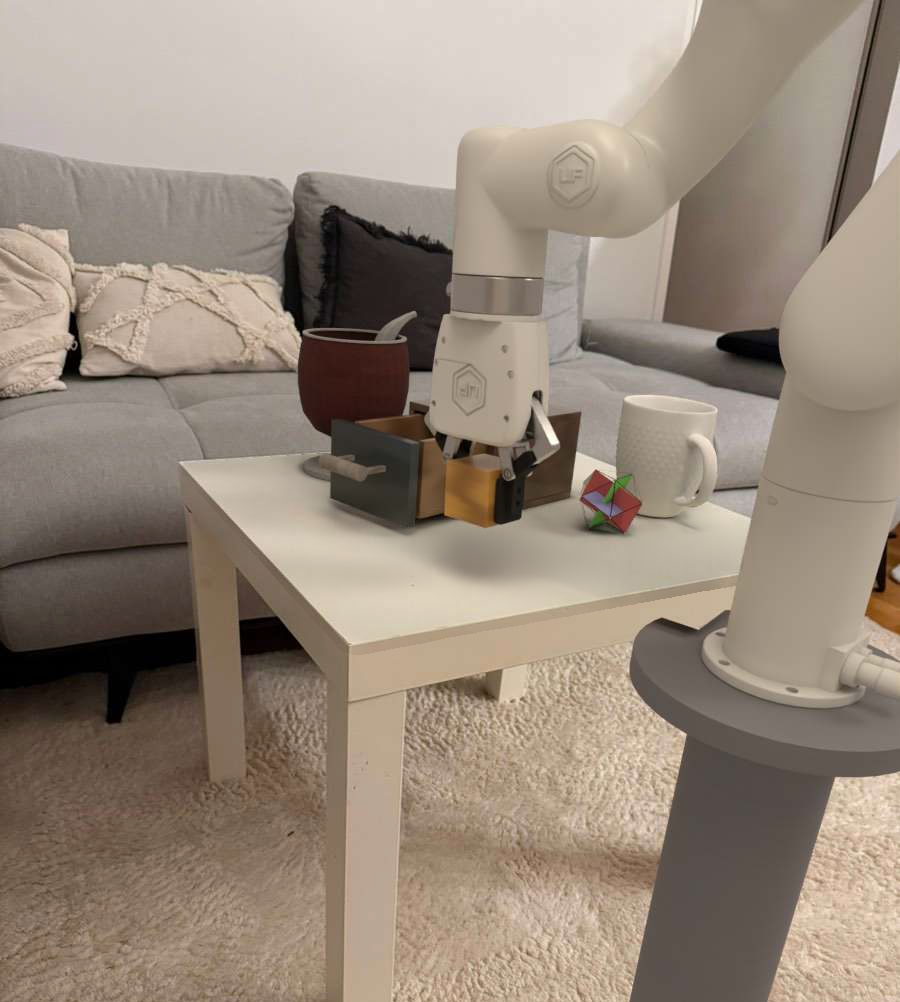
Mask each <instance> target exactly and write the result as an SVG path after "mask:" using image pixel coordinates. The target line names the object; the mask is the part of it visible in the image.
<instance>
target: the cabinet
mask: <svg viewBox="0 0 900 1002" xmlns="http://www.w3.org/2000/svg"><path fill="white" fill-rule="evenodd" d="M429 409H430V398H429V399H420V400H410V401H409V405H408V415H411V414H419V413H427V412H428V411H429ZM547 417H548V419H549V422H550V424H551V426H552V428H553V430H554V432H555V434H556V436H557V438H558V440H559V442H560V449H559V450H558V451H557V452H555V453H554V454H552V455H551V456H549V457H548V458H547V459H544V460H543V462H542V463H541V464H540V465H539V466H538V467H536V468H535V469H534V470H533V472H532V475H530V476H528V477H526V479H525V491H524V503H523V510H527V509H529V508H530V509H531V508H535V507H538V506H542V505H545V504H549V503H553V502H557V501H560V500H565V499H569V498H571V495H572V486H573V480H574V479H573V478H574V472H575V464H576V457H577V449H578V442H579V436H580V435H579V434H580V428H581V419H582V411H581V410H577V409H574V408H573V409H572V408H568V407H563V406H559V405H555V404H550V403H548V415H547ZM534 445H535V441H529V446H530V449H531V448H532V447H533V446H534ZM513 452H514V459H515V460H516V459H517V457H516V451H515V448H514V449H513ZM488 455H492V456H496V457H499V452H498V446H493V445H489V449H488Z"/></svg>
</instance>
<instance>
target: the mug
mask: <svg viewBox="0 0 900 1002" xmlns="http://www.w3.org/2000/svg"><path fill="white" fill-rule="evenodd" d="M718 412H719V410H718V408H717V407H716V406H714V405H713V404H709V403H706V402H702V401H699V400H694V399H689V398H683V397H677V396H669V395H658V394H657V395H656V394H634V395H627V396H624V398H623V399H622V406H621V412H620V417H619V422H618V424H619V426H618V429H617V431H618V432H617V439H616V445H615V446H616V450H615V454H616V455H615V475H616V479H619V478H621V477H624V476H627V475H630V474H632V473H634V474H633V475H634V476H633V475H632V476H631V478H630V480H629V482H628V483H627V485H626V487H625V488H626V489H627V490H628V491H629V492H630V493H632V494H633V495H634V496H635V497H636V495H637V497H636V498H637V499H638V500H640V501H641V500H642V501H641V502H642V503H643V504H642V506H641V507H640V509H639V511H638V512H637V514H636V515H641V516H645V517H651V518H673V517H677V516H679V515H680V514H681V513H682V512H683V511H684V510H685V509H686V508H687V509H689V508H697V507H699V506H702V505H704V504H705V503H706V502H708V501H709V499H710V498H711V497H712V494H713V492H714V490H715V487H716V484H717V478H718V456H717V453H716V450H715V447H714V445H713V442H714V436H715V432H716V425H717V424H716V423H717V419H718V414H719V413H718ZM620 472H621V473H620ZM629 473H630V474H629ZM633 477H634V478H635V479H633ZM634 483H635V485H634ZM699 486H700V488H699ZM698 488H699V490H698ZM626 489H624V490H625V491H626V492H627V493H629V492H628V491H627V490H626ZM635 489H636V491H635ZM697 491H698V492H697ZM630 493H629V494H630ZM696 493H697V494H696ZM639 494H640V495H639ZM630 495H631V494H630ZM633 495H632V496H633ZM634 496H633V497H634ZM694 496H695V497H694ZM635 497H634V498H635ZM640 497H641V498H640Z"/></svg>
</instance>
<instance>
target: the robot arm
mask: <svg viewBox="0 0 900 1002" xmlns="http://www.w3.org/2000/svg"><path fill="white" fill-rule="evenodd" d="M866 1H867V0H702V2H701V5H700V9H699V13H698V17H697V21H696V23H695V26H694V29H693V32H692V34H691V36H690V38H689V41H688V43H687V45H686V47H685V49H684V51H683V53H682V54H681V56H680V58H679V60H678V61H677V63H676V64H675V66H674V67H673V68H672V70H671V71H670V73H669V74H668V76H667V77H666V78H665V79H664V80H663V82H662V83H661V84H660V85H659V87H658V88H657V89H656V91H655V92H654V93H653V94H652V95H651V96H650V97H649V99H647V101H646V102H645V103H644V104H643V105H642V106H641V107H640V108H639V110H637V112H636V113H635V114H634V115H633V116H632V117H631V118H630V119H629V120H628V121H627V122H626V123H625V124H624V125H623V126H622V127H620V126H618V125H615V124H613V123H610V122H608V121H605V120H601V119H594V118H593V119H589V118H588V119H577V120H571V121H565V122H562V123H561V122H560V123H556V124H551V125H546V126H540V127H534V128H526V127H521V126H507V125H506V126H504V125H503V126H502V125H501V126H500V125H499V126H498V125H497V126H495V125H494V126H493V125H492V126H482V127H475V128H473V129H470V130H468V131H467V132H465V133H464V134H463V135H462V137H461V139H460V141H459V144H458V147H457V153H456V154H457V155H456V170H455V171H456V172H455V192H454V193H455V194H454V215H453V217H454V218H453V219H454V220H453V239H452V240H453V242H452V265H451V267H452V268H451V273H452V274H451V281H449V282H448V283H447V285H446V288H445V293H446V296H447V297H448V298H450V310H449V311H450V312H449V313H445V314H443V315H442V319H441V322H440V327H439V331H438V335H437V338H436V339H437V340H436V344H435V350H434V357H433V364H432V371H431V383H430V393H429V399H430V409H429V411H428V412H427V414H426V415H425V417H424V421H425V424H426V425H427V426H428V428H429V429H430V431H431V432H432V434H433V435H435V440H436V442H437V444H438V446H439V447H440V449H441V451H442V453H443V454H442V460H443V462H444V464H446V465H447V461H448V460H453V459H458V458H464V457H469V456H472V454H473V451H474V447H475V444H476V442H479V443H484V444H488V445H493V446H498V452H499V458H500V465H501V472H502V477H503V478H500V479H497V482H496V491H495V506H494V522H495V523H496V524H498V525H499V526H501V525H502V526H503V525H505V524H510V523H513V522H516V521H519V520H521V519H522V518H521V517H523V510H524V509H523V503H524V491H525V479H526V477H528V476H530V475H532V472H533V470H534V469H535V468H536V467H538V466H539V465H540V464H541V463H542V462H543V460H544V459H547V458H548V457H549V456H551V455H552V454H554V453H555V452H557V451H558V450H559V449H560V442H559V440H558V438H557V436H556V434H555V432H554V430H553V428H552V426H551V424H550V422H549V419H548V417H547V415H548V404H549V400H550V350H549V337H548V330H547V322H546V321H544V320H542V313H543V300H544V288H545V287H544V286H545V277H546V276H545V275H546V265H547V264H546V263H547V252H548V251H547V250H548V239H549V230H550V231H555V232H560V233H564V234H569V235H573V236H574V235H575V236H581V237H589V238H604V239H613V240H614V239H616V240H617V239H626V238H630V237H633V236H636V235H637V234H639V233H641V232H643V231H645V230H647V229H648V228H650V227H651V226H652V225H654V224H655V223H656V222H658V221H659V220H660V219H661V218H662V217H663V216H664V215H665V214H666V213H668V212H669V211H670V210H671V209H672V208H674V206H675V205H676V204H677V203H678V202H680V200H681V199H683V198H684V197H685V196H686V195H687V194H688V193H689V192H690V191H691V190H692V189H693V188H694V187H695V186H696V185H697V184H698V183H700V182H701V180H703V179H704V178H705V177H706V176H707V175H708V174H709V173H710V172H711V171H712V170H713V169H714V168H715V167H716V166H717V165H718V164H719V163H720V161H721V160H722V159H724V158H725V156H726V155H727V154H728V153H729V152H730V151H731V150H732V149H733V147H735V145H736V144H737V143H738V142H739V141H740V139H741V138H742V137H743V136H744V135H745V134H746V132H747V131H748V130H749V129H750V127H751V126H752V125H753V124H754V123H755V122H756V120H758V118H759V117H760V116H761V115H762V114H763V112H764V111H765V110H766V109H767V108H768V107H769V106H770V104H771V103H772V102H773V101H774V100H775V99H776V98H777V97H778V96H779V94H780V93H781V92H782V90H783V89H784V88H785V86H786V85H787V84H788V83H789V81H790V79H791V78H792V76H793V75H794V74H795V73H796V71H798V69H799V68H800V67H801V66H802V64H803V63H804V62H805V61H807V59H808V58H809V57H811V55H813V54H814V52H815V51H816V50H817V49H818V48H819V47H820V46H821V45H822V44H823V43H825V41H827V39H829V38H830V37H831V35H833V34H834V32H835V31H837V30H838V28H840V27H841V26H842V25H843V24H844V23H845V22H846V21H847V20H848V19H849V18H850V17H851V16H852V15H853V14H854V13H855V12H856V11H857V10H858V9H860V7H861V6H862V5H863V4H864V3H865V2H866ZM778 349H779V354H780V355H779V356H780V359H781V363H782V365H783V368H784V370H785V376H784V380H783V383H782V387H781V391H780V396H779V399H778V403H777V407H776V411H775V415H774V419H773V422H772V426H771V431H770V435H769V440H768V444H767V448H766V452H765V457H764V461H763V467H762V470H761V473H760V478H759V481H758V486H757V491H756V495H755V500H754V504H753V509H752V512H751V517H750V522H749V526H748V532H747V536H746V540H745V545H744V548H743V554H742V557H741V561H740V562H741V563H740V567H739V572H738V576H737V580H736V584H735V589H734V594H733V598H732V603H731V607H730V610H731V611H730V616H729V620H728V624H727V627H725V628H721V629H719V630H716V631H714V632H712V633H710V634H709V635H707V637H706V638H705V639H704V642H703V646H702V650H701V657H702V660H703V662H704V664H705V665H706V667H707V668H708V669H709V670H710V671H711V672H712V673H713V674H714V675H715V676H717V677H718V678H719V679H720V680H722V681H724V682H725V683H727V684H728V685H730V686H732V687H734V688H736V689H738V690H740V691H742V692H744V693H747V694H749V695H752V696H755V697H757V698H760V699H763V700H767V701H771V702H774V703H778V704H783V705H788V706H793V707H801V708H810V709H829V708H839V707H843V706H847V705H850V704H853V703H855V702H856V701H858V700H860V699H861V698H862V696H863V695H864V693H865V690H866V687H867V688H870V689H873V690H875V692H877V693H880V694H882V695H885V696H888V697H890V698H893V699H896V700H898V701H900V663H899V662H896V661H893V660H890V659H887V658H882V657H879V656H876V655H873V654H872V652H873V651H872V650H870V649H868V648H867V646H868V644H869V642H870V638H871V636H872V632H870V631H869V630H865V629H862V625H863V621H864V619H865V615H866V612H867V608H868V604H869V601H870V598H871V594H872V591H873V588H874V584H875V580H876V577H877V573H878V570H879V567H880V564H881V560H882V558H883V553H884V550H885V547H886V543H887V540H888V537H889V534H890V529H891V526H892V522H893V519H894V516H895V512H896V509H897V505H898V502H899V499H900V149H899V150H898V151H897V152H896V154H895V155H894V156H893V158H892V159H891V160H890V161H889V162H888V164H887V166H886V167H885V168H884V169H883V171H882V172H881V173H880V175H879V176H878V178H876V180H875V181H874V183H873V184H872V185H871V187H870V188H869V189H868V190H867V192H866V193H865V194H864V196H863V197H862V199H861V200H860V201H859V202H858V203H857V205H856V206H855V208H854V209H853V210H852V211H851V213H850V214H849V216H848V217H847V218H845V220H844V222H843V223H842V224H841V226H840V227H839V228H838V230H837V231H836V232H835V234H834V235H833V236H832V238H831V239H830V240H829V242H828V243H827V244H826V245H825V247H824V248H823V249H822V250H821V252H820V253H819V255H818V256H817V257H816V259H815V260H814V261H813V263H812V264H811V265H810V266H809V268H808V269H807V270H806V272H805V273H804V274H803V275H802V277H801V279H800V280H799V282H798V283H797V284H796V285H795V287H794V289H793V290H792V293H791V294H790V296H789V297H788V299H787V302H786V304H785V306H784V309H783V312H782V314H781V319H780V324H779V329H778ZM461 440H462V442H461ZM529 441H535V445H534V446H533V447H532V448H531V449H530V446H529ZM514 448H515V451H516V457H517V459H516V460H515V459H514V452H513V449H514Z"/></svg>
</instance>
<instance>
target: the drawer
mask: <svg viewBox="0 0 900 1002" xmlns="http://www.w3.org/2000/svg"><path fill="white" fill-rule="evenodd" d="M426 414H427V413H419V414H411V415H409V414H403V416H394V417H386V418H378V419H369V420H361V421H355V423H352V422H349V421H346V420H342V419H334V420H332V428H331V437H330V453H327V452H324V453H322V454H321V456H320V455H319V456H320V458H319V466H320V467H321V468H323V469H326V470H329V471H331V479H330V486H329V489H330V490H329V499H331V500H334V501H335V502H339V503H341V504H343V505H346V506H349V507H351V508H354V509H356V510H358V511H361V512H364V513H366V514H369V515H371V516H374V517H376V518H378V519H382V520H384V521H387V522H389V523H392V524H393V525H397V526H399V527H402V528H405V529H410V528H414V527H415V525H416V519H419V520H420V519H424V518H428V517H432V516H436V515H441V514H444V510H445V487H446V464H444V462H443V460H442V454H443V453H442V451H441V449H440V447H439V446H438V444H437V442H436V440H435V435H433V434H432V432H431V431H430V429H429V428H428V426H427V425H426V424H425V421H424V417H425V415H426ZM461 442H462V440H461ZM488 449H489V445H488V444H484V443H479V442H476V444H475V447H474V451H473V454H472V456H474V455H479V454H488ZM330 454H331V455H330Z"/></svg>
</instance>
